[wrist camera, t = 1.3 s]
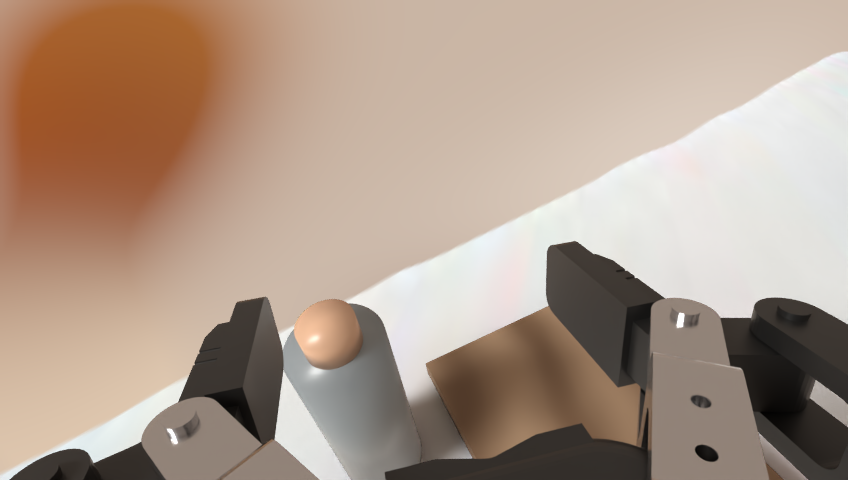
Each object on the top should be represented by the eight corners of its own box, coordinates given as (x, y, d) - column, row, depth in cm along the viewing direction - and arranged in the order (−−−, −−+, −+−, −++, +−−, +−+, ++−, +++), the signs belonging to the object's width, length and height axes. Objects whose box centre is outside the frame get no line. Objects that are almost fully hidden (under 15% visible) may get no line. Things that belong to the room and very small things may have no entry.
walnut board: (583, 299, 36) (584, 289, 35) (814, 526, 23) (824, 518, 22) (427, 372, 33) (425, 363, 32) (592, 685, 20) (595, 683, 19)
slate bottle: (404, 404, 31) (360, 268, 22) (434, 471, 28) (395, 339, 19) (337, 437, 30) (262, 307, 21) (359, 510, 26) (279, 391, 18)
